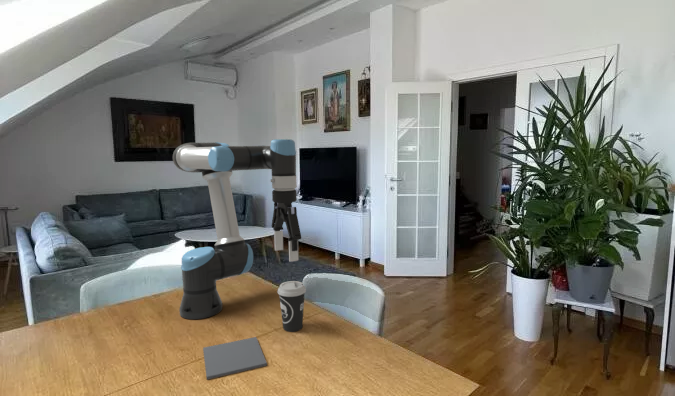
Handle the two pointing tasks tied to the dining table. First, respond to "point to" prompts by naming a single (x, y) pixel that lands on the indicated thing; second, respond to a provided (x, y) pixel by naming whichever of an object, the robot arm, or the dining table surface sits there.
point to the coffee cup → (292, 305)
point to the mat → (233, 357)
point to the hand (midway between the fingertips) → (286, 255)
